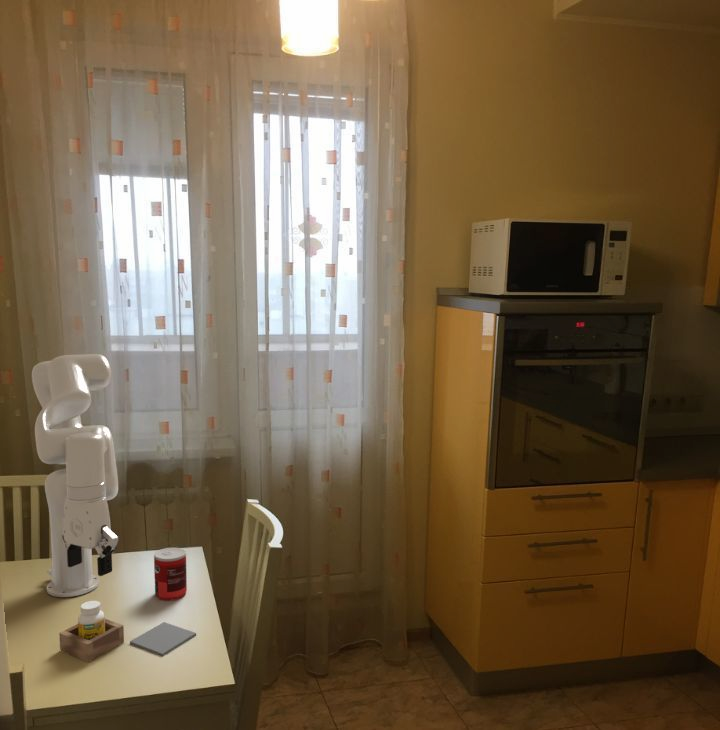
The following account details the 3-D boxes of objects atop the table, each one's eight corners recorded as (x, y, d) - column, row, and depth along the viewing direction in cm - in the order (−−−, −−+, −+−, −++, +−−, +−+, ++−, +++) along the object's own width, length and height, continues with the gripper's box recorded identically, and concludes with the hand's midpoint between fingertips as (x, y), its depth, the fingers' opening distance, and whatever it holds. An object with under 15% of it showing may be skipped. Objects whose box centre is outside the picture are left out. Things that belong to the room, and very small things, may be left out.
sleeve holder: (60, 650, 142) (59, 633, 141) (96, 631, 150) (95, 615, 149) (88, 662, 137) (87, 644, 137) (124, 642, 145) (123, 625, 145)
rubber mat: (129, 643, 145) (129, 641, 145) (164, 624, 154) (164, 621, 154) (162, 655, 140) (162, 653, 140) (196, 635, 149) (196, 633, 149)
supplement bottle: (102, 637, 147) (101, 596, 146) (108, 648, 143) (106, 606, 142) (76, 644, 144) (75, 602, 143) (81, 656, 140) (80, 612, 139)
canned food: (163, 586, 173) (162, 546, 172) (191, 588, 172) (191, 548, 171) (149, 599, 166) (148, 557, 165) (179, 602, 165) (178, 559, 163)
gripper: (44, 490, 141) (48, 567, 142) (99, 501, 132) (102, 584, 134) (75, 482, 147) (78, 556, 149) (129, 492, 139) (131, 571, 140)
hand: (89, 569), depth 141 cm, fingers open, 9 cm apart
